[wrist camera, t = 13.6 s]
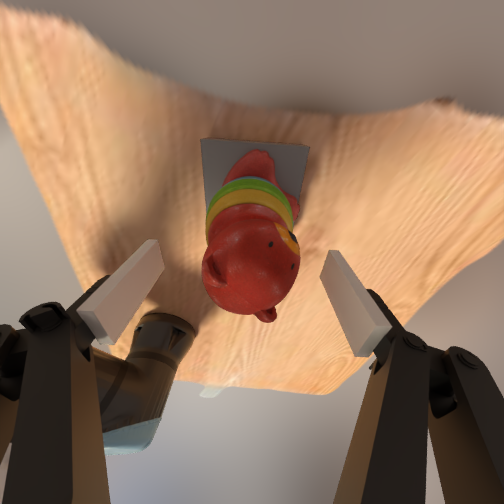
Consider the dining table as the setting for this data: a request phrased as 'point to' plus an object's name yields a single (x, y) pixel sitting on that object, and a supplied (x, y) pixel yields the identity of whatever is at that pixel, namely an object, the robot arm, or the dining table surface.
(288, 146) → the grey block
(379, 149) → the dining table surface
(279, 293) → the stacking bear
